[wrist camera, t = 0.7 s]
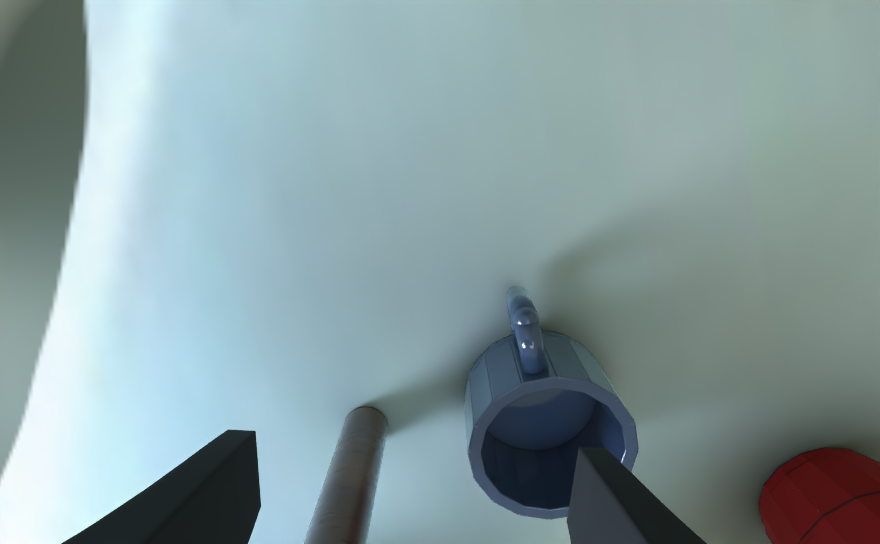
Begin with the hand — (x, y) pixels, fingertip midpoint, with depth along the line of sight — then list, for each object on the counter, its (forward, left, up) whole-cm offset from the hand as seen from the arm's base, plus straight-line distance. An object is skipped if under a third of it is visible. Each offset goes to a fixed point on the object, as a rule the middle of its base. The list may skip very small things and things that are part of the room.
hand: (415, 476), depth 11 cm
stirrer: (-7, 0, -10) cm, 12 cm away
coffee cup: (-1, -5, -10) cm, 11 cm away
